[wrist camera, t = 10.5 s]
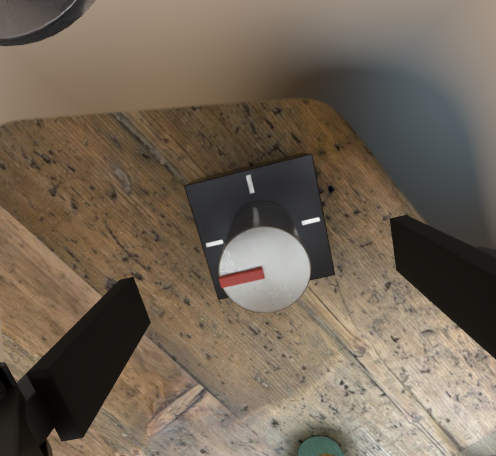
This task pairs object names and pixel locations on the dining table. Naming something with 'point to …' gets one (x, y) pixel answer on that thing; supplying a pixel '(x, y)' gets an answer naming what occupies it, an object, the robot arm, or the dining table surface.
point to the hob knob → (264, 259)
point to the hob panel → (262, 189)
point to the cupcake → (319, 447)
